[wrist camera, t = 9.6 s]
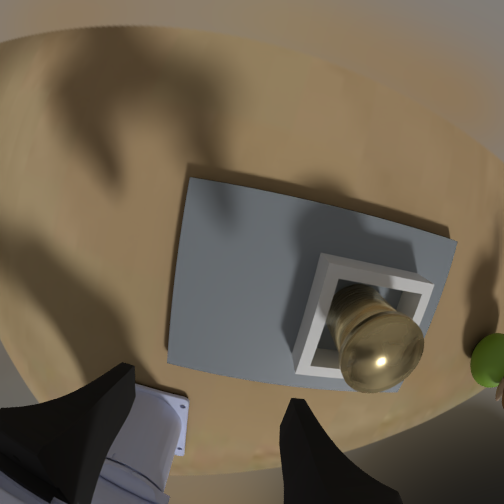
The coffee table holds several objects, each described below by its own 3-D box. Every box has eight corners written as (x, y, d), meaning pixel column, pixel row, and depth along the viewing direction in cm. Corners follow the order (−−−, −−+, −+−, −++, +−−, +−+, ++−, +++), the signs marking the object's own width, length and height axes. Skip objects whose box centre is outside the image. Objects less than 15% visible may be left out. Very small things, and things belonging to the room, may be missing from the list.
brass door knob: (372, 345, 20) (401, 393, 14) (312, 338, 20) (328, 390, 14) (395, 286, 19) (437, 322, 13) (332, 273, 19) (361, 311, 13)
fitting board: (393, 385, 22) (407, 409, 19) (170, 356, 22) (158, 381, 18) (450, 239, 19) (476, 248, 16) (193, 177, 19) (179, 176, 15)
